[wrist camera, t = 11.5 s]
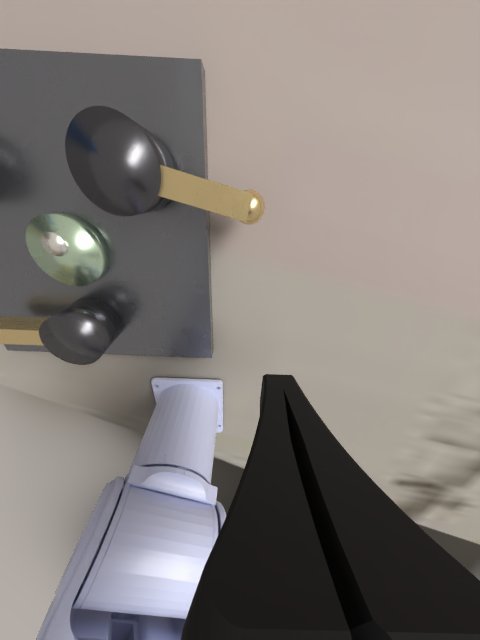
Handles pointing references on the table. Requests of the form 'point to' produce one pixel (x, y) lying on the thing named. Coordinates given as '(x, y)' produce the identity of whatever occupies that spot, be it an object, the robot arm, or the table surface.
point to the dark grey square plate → (89, 220)
